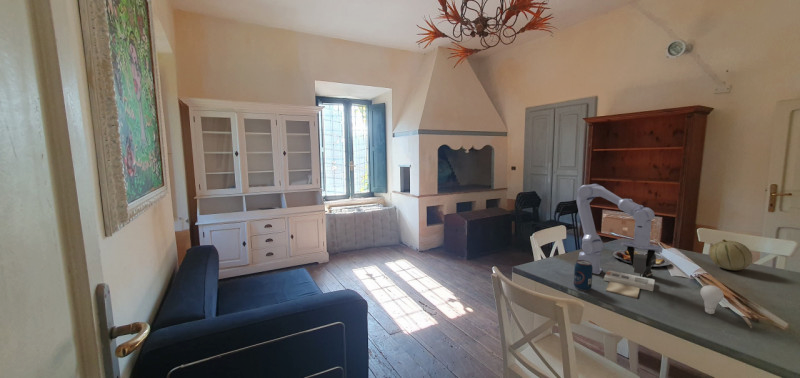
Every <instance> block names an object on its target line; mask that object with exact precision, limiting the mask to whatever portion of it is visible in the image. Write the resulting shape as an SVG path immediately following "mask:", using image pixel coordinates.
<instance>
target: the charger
mask: <svg viewBox="0 0 800 378" xmlns="http://www.w3.org/2000/svg"><path fill="white" fill-rule="evenodd" d="M646 262H647V255H643V254H637V253H635V254H634V257H633V264H632V268H633V269H634V270H633V273H634V274H639V275H640V274H644V270H646Z"/></svg>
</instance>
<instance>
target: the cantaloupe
mask: <svg viewBox="0 0 800 378" xmlns="http://www.w3.org/2000/svg"><path fill="white" fill-rule="evenodd" d="M709 257H710V259H711V261H712V262H713V263H714V264H715V265H716V266H718V267H719V268H722V269H723V270H728V271H729V270H730V271H741V270H744V269H747V268H748V267H749V266H750V265H751V264H752V262H753V254H752V251H751V250H750V249H749V247H747V246H746V245H744V244H743V243H741V242H739V241H735V240H726V239H722V241H718V242H716V243H714V244H713V245H712V246H711V247H710V249H709Z"/></svg>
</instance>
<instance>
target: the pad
mask: <svg viewBox="0 0 800 378" xmlns="http://www.w3.org/2000/svg"><path fill="white" fill-rule="evenodd" d="M640 290H641V289H640V288H638V287H633V286H629V285H624V284H620V283H615V282H611V281H610V282H609V283H608V285H607V287H606V290H605V292H608V293H611V294H612V293H614V294H616V295H622V296H626V297H628V298H629V297H630V298H633V299H638V298H639V293H640Z"/></svg>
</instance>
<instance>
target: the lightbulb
mask: <svg viewBox="0 0 800 378" xmlns="http://www.w3.org/2000/svg"><path fill="white" fill-rule="evenodd" d="M699 292H700V295H701V297H702V299H703V302H704V304H703V305H704V311H705V313H707V314H708V315H714V314H715V312H716V309H717V308H718V307H717V306H718V304H719V303H721V301H722V300H723V299H724V295H725V294H724V292H723V291H722V289H721V288H719V287H718V286H716V285H710V284H709V285H705V286H703V287H701V288H700V291H699Z"/></svg>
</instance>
